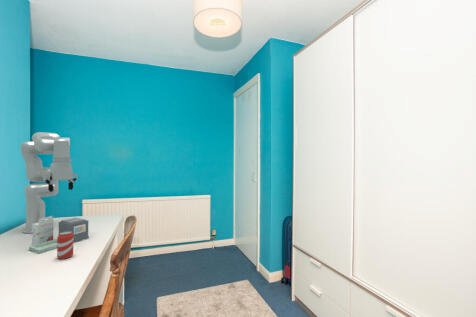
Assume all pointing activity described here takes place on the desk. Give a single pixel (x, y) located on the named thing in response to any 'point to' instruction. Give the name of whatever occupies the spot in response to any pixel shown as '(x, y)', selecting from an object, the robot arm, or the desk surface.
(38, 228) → the ink cartridge box
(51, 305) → the desk surface
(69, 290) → the desk surface
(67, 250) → the beverage can
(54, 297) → the desk surface
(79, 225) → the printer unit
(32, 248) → the tray
